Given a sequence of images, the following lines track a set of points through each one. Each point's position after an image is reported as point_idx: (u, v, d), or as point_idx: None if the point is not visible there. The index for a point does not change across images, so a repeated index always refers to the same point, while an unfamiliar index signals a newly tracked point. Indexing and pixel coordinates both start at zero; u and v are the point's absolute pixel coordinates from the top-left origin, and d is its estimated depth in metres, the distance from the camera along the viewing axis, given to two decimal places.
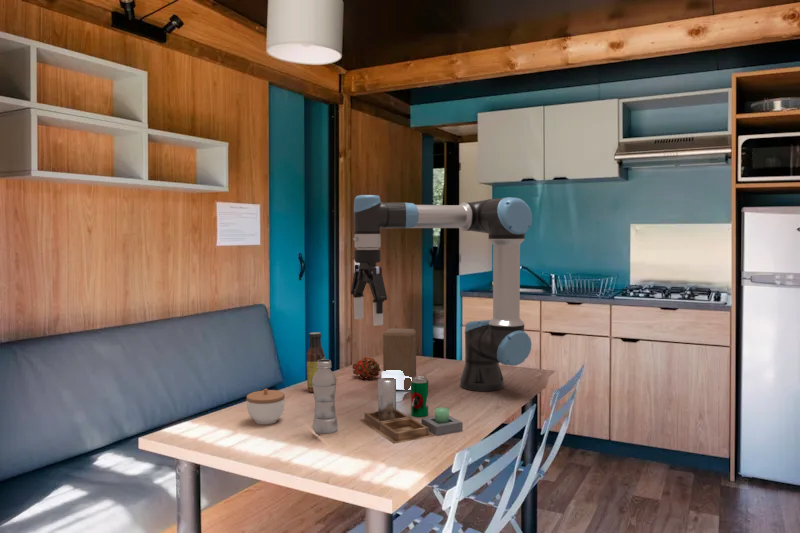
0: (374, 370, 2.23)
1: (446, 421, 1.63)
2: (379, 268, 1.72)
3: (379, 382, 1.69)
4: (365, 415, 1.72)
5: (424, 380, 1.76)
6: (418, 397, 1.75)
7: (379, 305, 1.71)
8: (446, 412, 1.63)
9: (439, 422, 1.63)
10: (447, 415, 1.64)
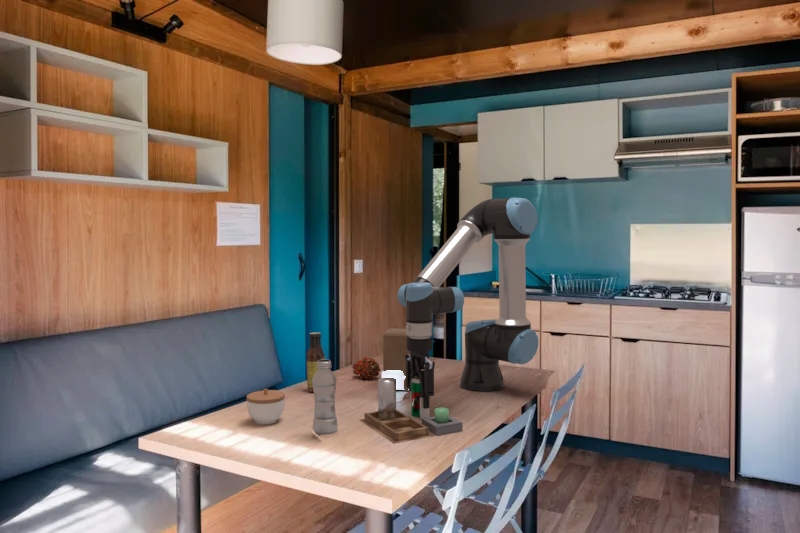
0: (374, 370, 2.23)
1: (446, 421, 1.63)
2: (432, 364, 1.71)
3: (379, 382, 1.69)
4: (365, 415, 1.72)
5: None
6: (418, 397, 1.75)
7: (426, 400, 1.74)
8: (446, 412, 1.63)
9: (439, 422, 1.63)
10: (447, 415, 1.64)
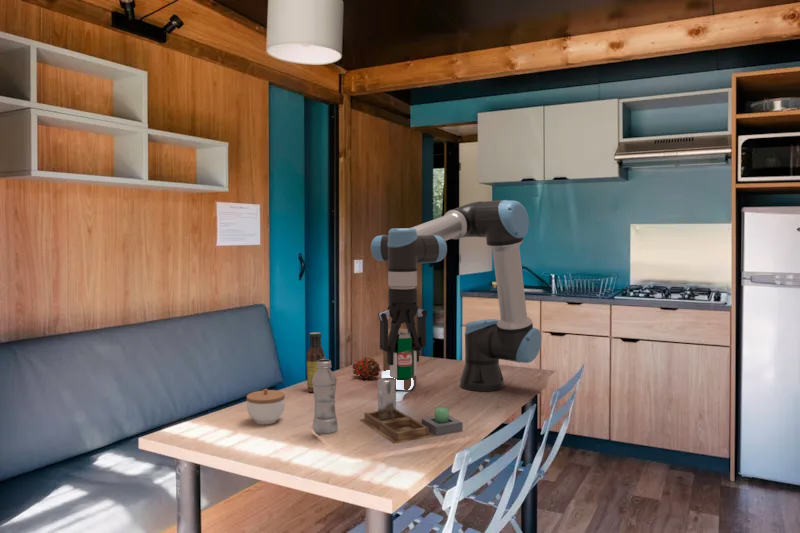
0: (374, 370, 2.23)
1: (446, 421, 1.63)
2: (380, 316, 1.57)
3: (379, 382, 1.69)
4: (365, 415, 1.72)
5: None
6: None
7: (387, 355, 1.59)
8: (446, 412, 1.63)
9: (439, 422, 1.63)
10: (447, 415, 1.64)
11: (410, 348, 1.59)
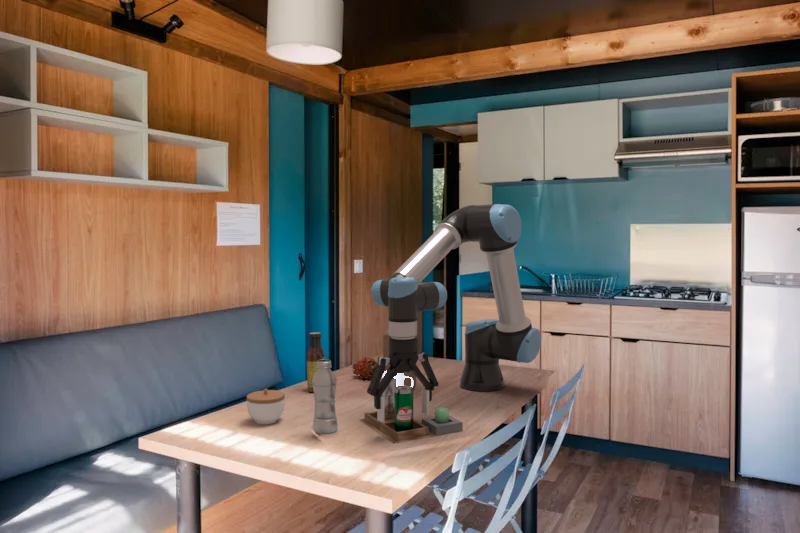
0: (374, 370, 2.23)
1: (446, 421, 1.63)
2: (380, 360, 1.57)
3: None
4: (365, 415, 1.72)
5: (397, 390, 1.60)
6: None
7: (375, 399, 1.58)
8: (446, 412, 1.63)
9: (439, 422, 1.63)
10: (447, 415, 1.64)
11: (411, 403, 1.60)
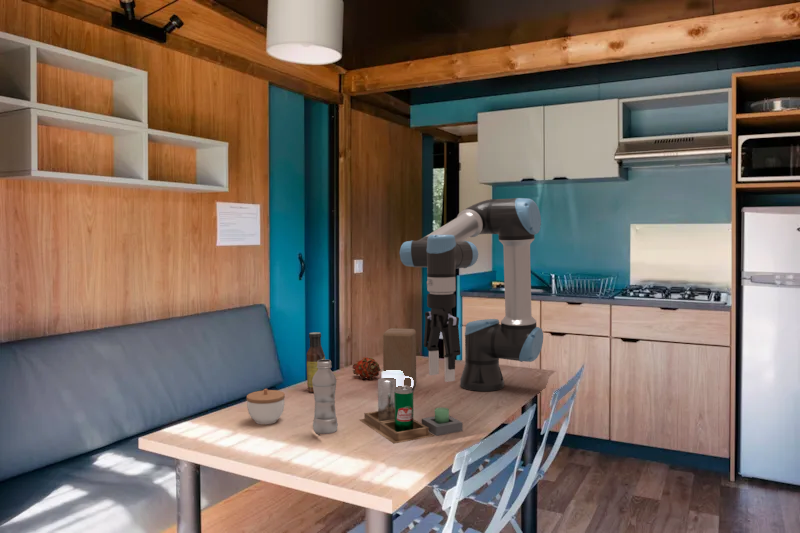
0: (374, 370, 2.23)
1: (446, 421, 1.63)
2: (456, 320, 1.58)
3: (379, 382, 1.69)
4: (365, 415, 1.72)
5: (397, 390, 1.60)
6: None
7: (451, 360, 1.59)
8: (446, 412, 1.63)
9: (439, 422, 1.63)
10: (447, 415, 1.64)
11: (411, 403, 1.60)
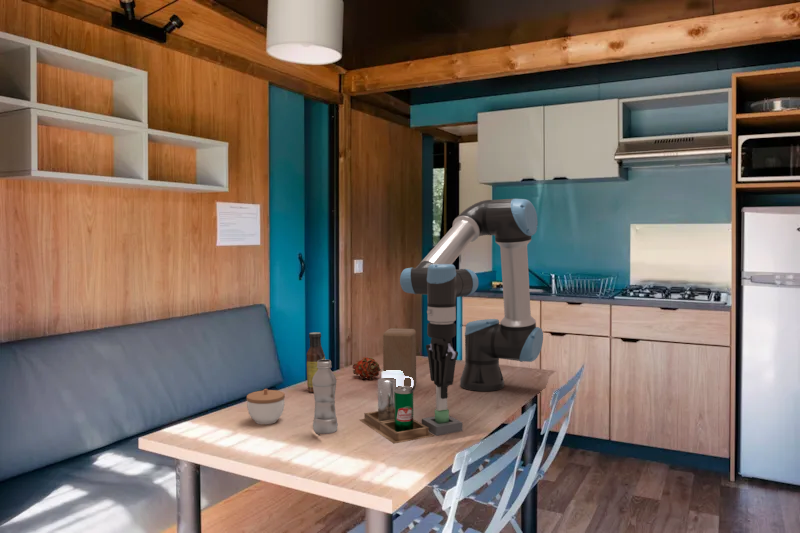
0: (374, 370, 2.23)
1: (446, 422, 1.63)
2: (455, 355, 1.59)
3: (379, 382, 1.69)
4: (365, 415, 1.72)
5: (397, 390, 1.60)
6: None
7: (444, 390, 1.63)
8: (445, 413, 1.63)
9: (439, 423, 1.63)
10: (447, 416, 1.64)
11: (411, 403, 1.60)
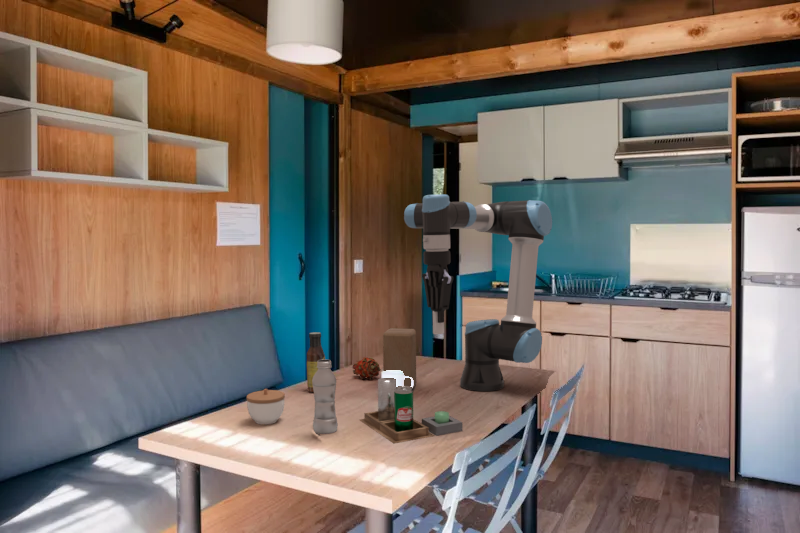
0: (374, 370, 2.23)
1: None
2: (451, 279, 1.67)
3: (379, 382, 1.69)
4: (365, 415, 1.72)
5: (397, 390, 1.60)
6: None
7: (441, 314, 1.71)
8: (445, 416, 1.63)
9: None
10: (447, 419, 1.64)
11: (411, 403, 1.60)
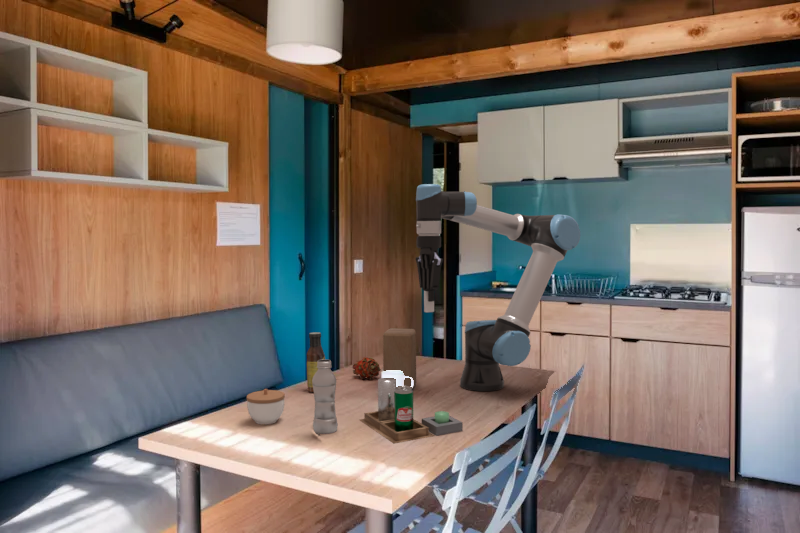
0: (374, 370, 2.23)
1: None
2: (440, 261, 1.83)
3: (379, 382, 1.69)
4: (365, 415, 1.72)
5: (397, 390, 1.60)
6: None
7: (431, 293, 1.87)
8: (445, 416, 1.63)
9: None
10: (447, 419, 1.64)
11: (411, 403, 1.60)
